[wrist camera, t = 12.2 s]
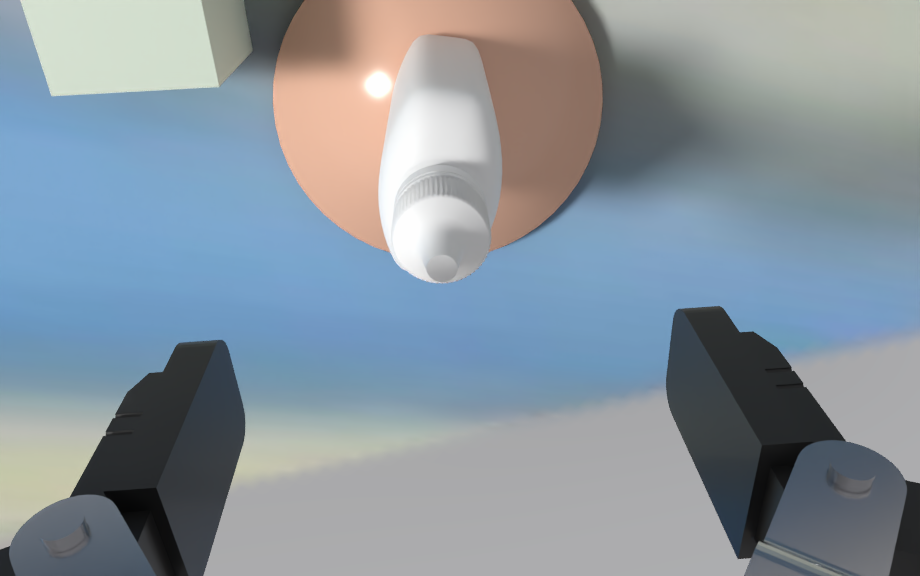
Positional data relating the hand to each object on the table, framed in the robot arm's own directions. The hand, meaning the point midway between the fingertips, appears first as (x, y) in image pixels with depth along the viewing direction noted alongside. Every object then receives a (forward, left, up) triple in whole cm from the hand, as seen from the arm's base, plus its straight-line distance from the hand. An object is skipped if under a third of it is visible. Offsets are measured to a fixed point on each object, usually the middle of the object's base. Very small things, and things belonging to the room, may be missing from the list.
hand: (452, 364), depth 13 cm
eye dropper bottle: (0, 0, -16) cm, 16 cm away
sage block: (-5, -9, -17) cm, 19 cm away
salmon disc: (0, 0, -16) cm, 16 cm away
